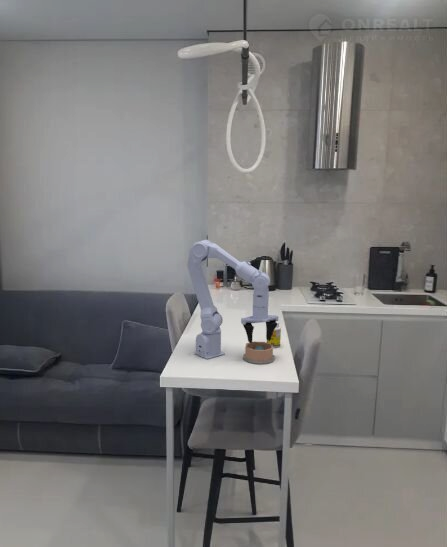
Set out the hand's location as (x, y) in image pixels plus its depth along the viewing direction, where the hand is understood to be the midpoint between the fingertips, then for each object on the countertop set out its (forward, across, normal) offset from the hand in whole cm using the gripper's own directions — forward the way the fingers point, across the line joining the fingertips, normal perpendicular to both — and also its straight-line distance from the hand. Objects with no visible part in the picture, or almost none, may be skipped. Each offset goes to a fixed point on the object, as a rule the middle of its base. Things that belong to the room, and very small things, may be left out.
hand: (259, 341), depth 172 cm
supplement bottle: (+7, +12, +11) cm, 18 cm away
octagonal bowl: (+7, 0, 0) cm, 7 cm away
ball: (+4, 0, 0) cm, 4 cm away
